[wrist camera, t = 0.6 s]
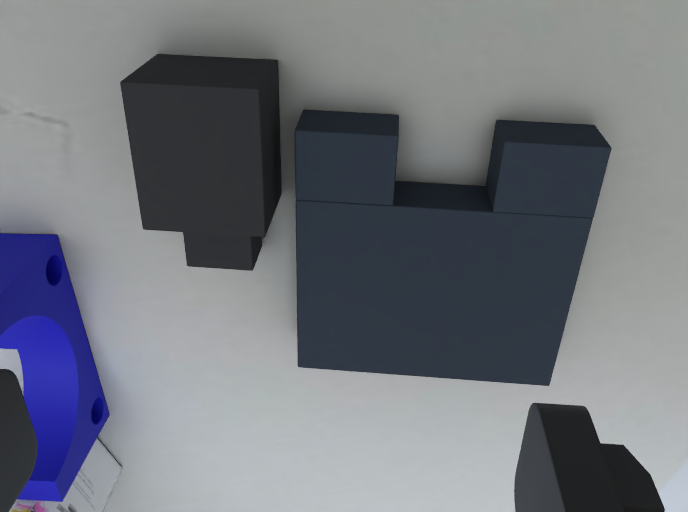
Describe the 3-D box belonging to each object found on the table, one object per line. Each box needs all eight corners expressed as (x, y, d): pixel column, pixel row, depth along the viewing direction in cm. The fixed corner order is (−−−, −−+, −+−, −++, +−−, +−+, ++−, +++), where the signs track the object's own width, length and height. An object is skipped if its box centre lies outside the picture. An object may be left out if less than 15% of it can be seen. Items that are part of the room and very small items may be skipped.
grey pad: (303, 109, 27) (294, 130, 25) (594, 124, 26) (611, 147, 24) (304, 335, 33) (297, 367, 31) (539, 352, 32) (549, 386, 30)
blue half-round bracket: (-32, 232, 31) (-116, 304, 26) (57, 234, 31) (-12, 307, 26) (35, 411, 37) (-23, 497, 32) (109, 414, 37) (62, 501, 32)
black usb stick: (156, 53, 26) (119, 81, 23) (278, 59, 26) (259, 88, 22) (179, 240, 31) (151, 287, 27) (283, 247, 30) (267, 295, 27)
